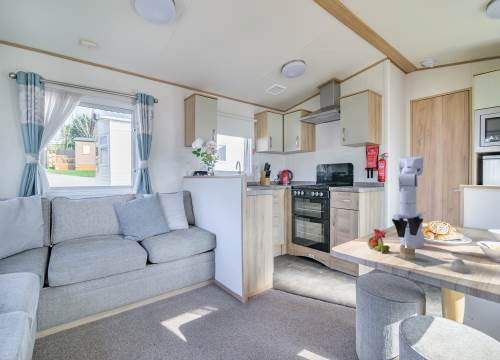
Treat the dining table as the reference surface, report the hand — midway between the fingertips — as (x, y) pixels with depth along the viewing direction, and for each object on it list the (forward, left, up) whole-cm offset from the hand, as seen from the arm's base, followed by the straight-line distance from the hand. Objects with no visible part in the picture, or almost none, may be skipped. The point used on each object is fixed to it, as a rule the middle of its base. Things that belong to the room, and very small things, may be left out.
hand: (407, 236), depth 98 cm
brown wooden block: (0, 0, -9) cm, 9 cm away
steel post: (0, 0, -9) cm, 9 cm away
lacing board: (-3, +3, -10) cm, 11 cm away
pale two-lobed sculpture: (-6, +15, -10) cm, 20 cm away
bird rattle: (+3, -12, -10) cm, 16 cm away
